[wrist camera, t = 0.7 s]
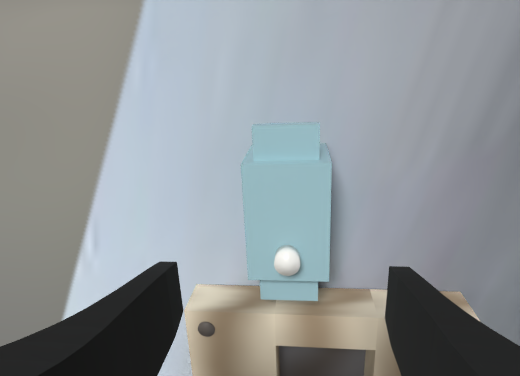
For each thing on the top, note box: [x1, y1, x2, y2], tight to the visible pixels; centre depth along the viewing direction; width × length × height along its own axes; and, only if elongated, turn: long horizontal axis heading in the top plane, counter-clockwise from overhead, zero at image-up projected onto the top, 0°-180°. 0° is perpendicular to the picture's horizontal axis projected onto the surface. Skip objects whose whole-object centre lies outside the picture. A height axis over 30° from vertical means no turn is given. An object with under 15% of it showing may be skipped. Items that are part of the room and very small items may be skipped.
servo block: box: [241, 122, 332, 301], centre depth 18 cm, size 4×9×5 cm, turn 3°
